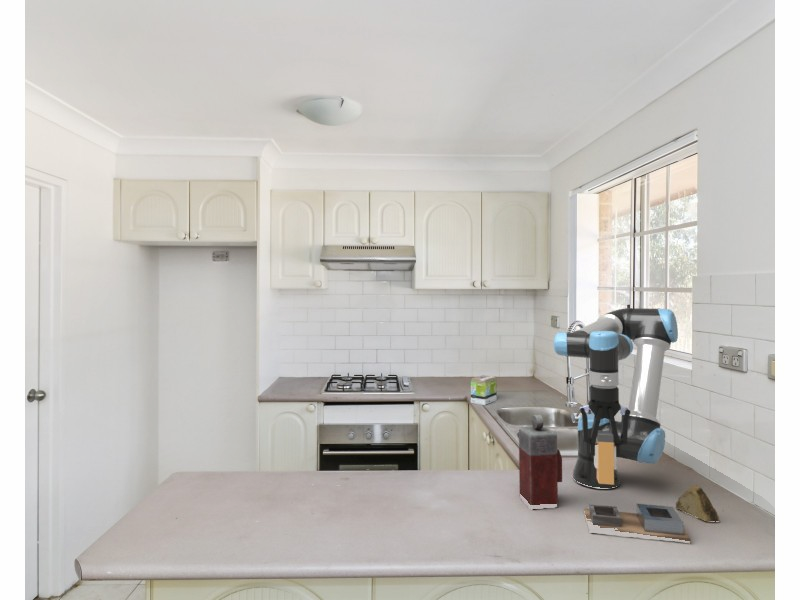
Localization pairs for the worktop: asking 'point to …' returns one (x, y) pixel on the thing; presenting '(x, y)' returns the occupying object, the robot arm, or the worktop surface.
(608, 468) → the plug
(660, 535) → the board
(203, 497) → the worktop surface
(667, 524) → the port
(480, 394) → the tea box
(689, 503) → the rock
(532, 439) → the red rectangular canister
